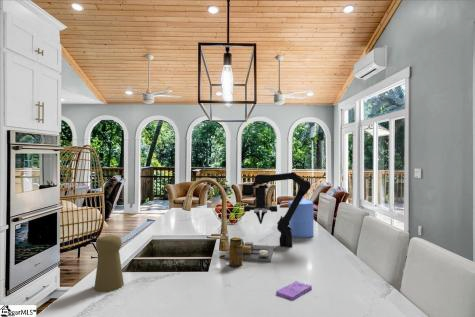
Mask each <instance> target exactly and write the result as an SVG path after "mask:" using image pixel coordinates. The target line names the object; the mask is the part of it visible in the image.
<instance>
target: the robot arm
mask: <svg viewBox="0 0 475 317" xmlns="http://www.w3.org/2000/svg"><path fill="white" fill-rule="evenodd" d="M287 180H289V181H290V180H292V181H294V182H295V183H296V184H297V185H298V189H297V192H296V195H294V196H295V197H294V198H293V199H292V200H293V202H292V203H291V205H290V207H289V208H288V209H287V211H286V213H285V215H284V216H282V215H280V218H279V220H277V223H276V225H277V227H276V229H277V231H278V232H279V233H280V236H279V246H280V247H281V248H282V247H286V248H293V245H294V244H293V236H292V234H291V233H292V229H291V228H290V227H289V223H290V220H291V218H292V216H293V214H294V212H295V210H296V208H297V207H298V205H299V203H300V201H301V199H302V197H304V196H305V195H307V193H308V192H309V190H310V189H311V187H312V186H311V182H310V181H309V180H307V179H304V178H302V177H301V176H299V174H297V173H296V172H295V171H292V172H285V173H276V174H267V173H258V174H257V175H255V176H254V181H253V183H251V184H246V183H243V184H242V188H241V194H242V195H241V196H242V197H253V195H255V197H254V198H255V199H253V205H254V206H252V205H250V204H249V205H244V206H243V212H244V213H245V212H251V211H253V213H254V214H255V215H256V217H257V219H258V222H259V225H262V224H263V219H264V217H265V214H267V213H268V211H270V212H271V213H275V212H276V213H277V212H278V206H277V205H270V206H267V201H266V189H269V186H268V185H267V183H270V182H279V181H287ZM258 185H259V186H258ZM260 211H261V212H260Z"/></svg>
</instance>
